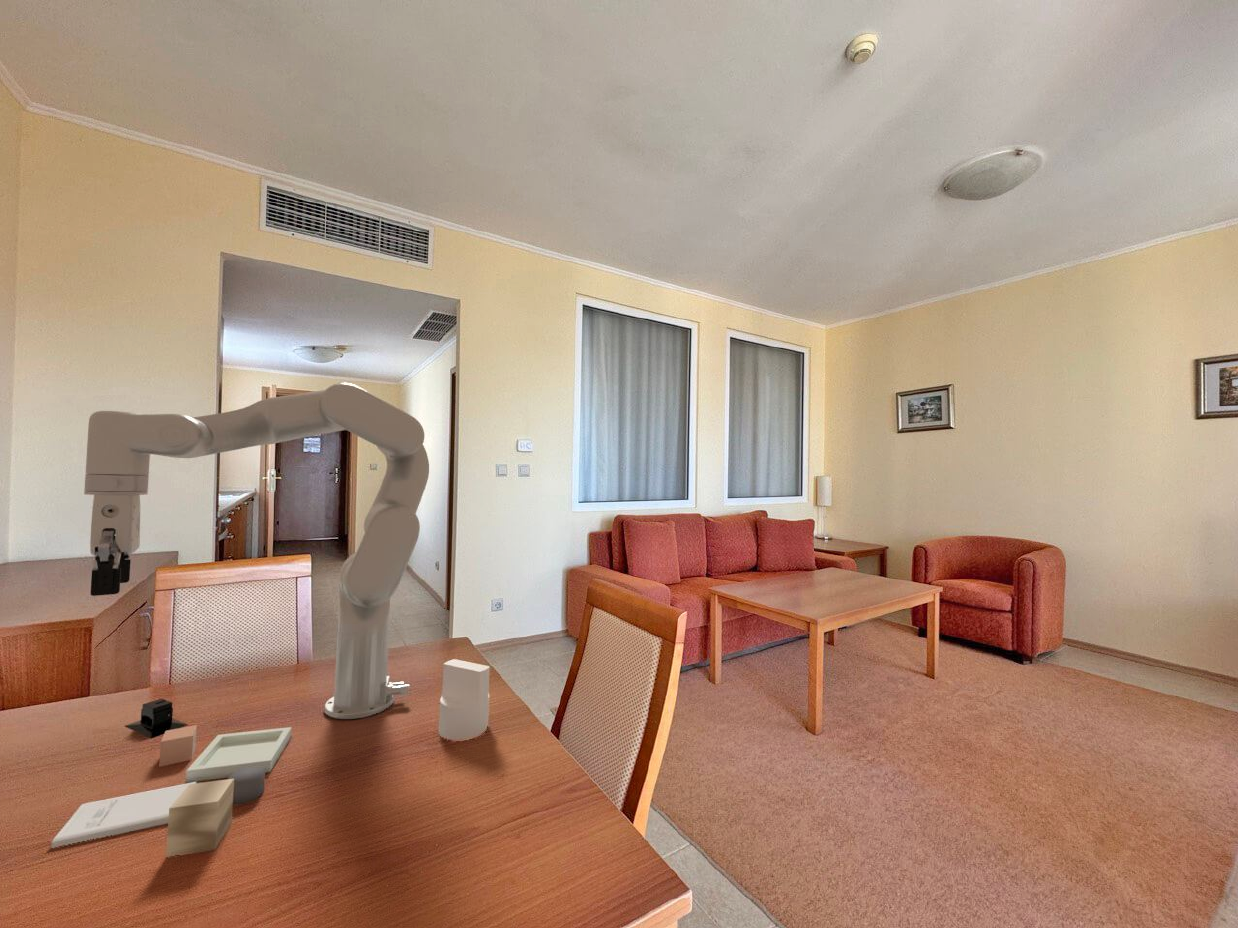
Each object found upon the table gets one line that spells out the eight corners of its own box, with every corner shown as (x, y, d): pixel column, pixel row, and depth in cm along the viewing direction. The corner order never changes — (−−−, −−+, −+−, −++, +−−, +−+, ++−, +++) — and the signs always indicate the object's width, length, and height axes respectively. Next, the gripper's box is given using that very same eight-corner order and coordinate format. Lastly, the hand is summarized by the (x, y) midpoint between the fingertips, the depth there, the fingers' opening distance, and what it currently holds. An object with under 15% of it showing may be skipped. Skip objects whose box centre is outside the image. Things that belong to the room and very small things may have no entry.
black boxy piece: (197, 727, 93) (199, 702, 93) (148, 746, 86) (149, 719, 87) (161, 713, 98) (162, 689, 98) (111, 729, 91) (113, 704, 92)
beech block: (231, 823, 68) (234, 778, 68) (215, 849, 63) (218, 801, 63) (186, 830, 66) (189, 784, 66) (166, 858, 61) (169, 808, 62)
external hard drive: (179, 825, 68) (50, 853, 62) (196, 790, 75) (82, 813, 69) (180, 813, 68) (51, 840, 62) (197, 779, 75) (83, 801, 70)
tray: (291, 737, 90) (291, 726, 90) (270, 771, 80) (271, 760, 80) (217, 745, 86) (218, 734, 86) (185, 782, 76) (186, 770, 76)
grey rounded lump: (268, 784, 77) (269, 764, 77) (257, 801, 72) (259, 780, 73) (233, 788, 75) (235, 768, 75) (221, 807, 71) (222, 785, 71)
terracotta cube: (195, 748, 85) (196, 724, 86) (191, 760, 82) (193, 735, 82) (164, 755, 83) (165, 730, 83) (159, 767, 80) (160, 741, 80)
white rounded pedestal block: (427, 734, 93) (431, 668, 93) (460, 714, 101) (463, 653, 101) (467, 745, 89) (470, 677, 90) (497, 723, 98) (500, 661, 98)
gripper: (140, 487, 79) (134, 596, 79) (154, 484, 93) (148, 577, 93) (71, 487, 75) (64, 602, 74) (96, 483, 88) (90, 581, 88)
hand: (111, 588), depth 83 cm, fingers open, 9 cm apart
